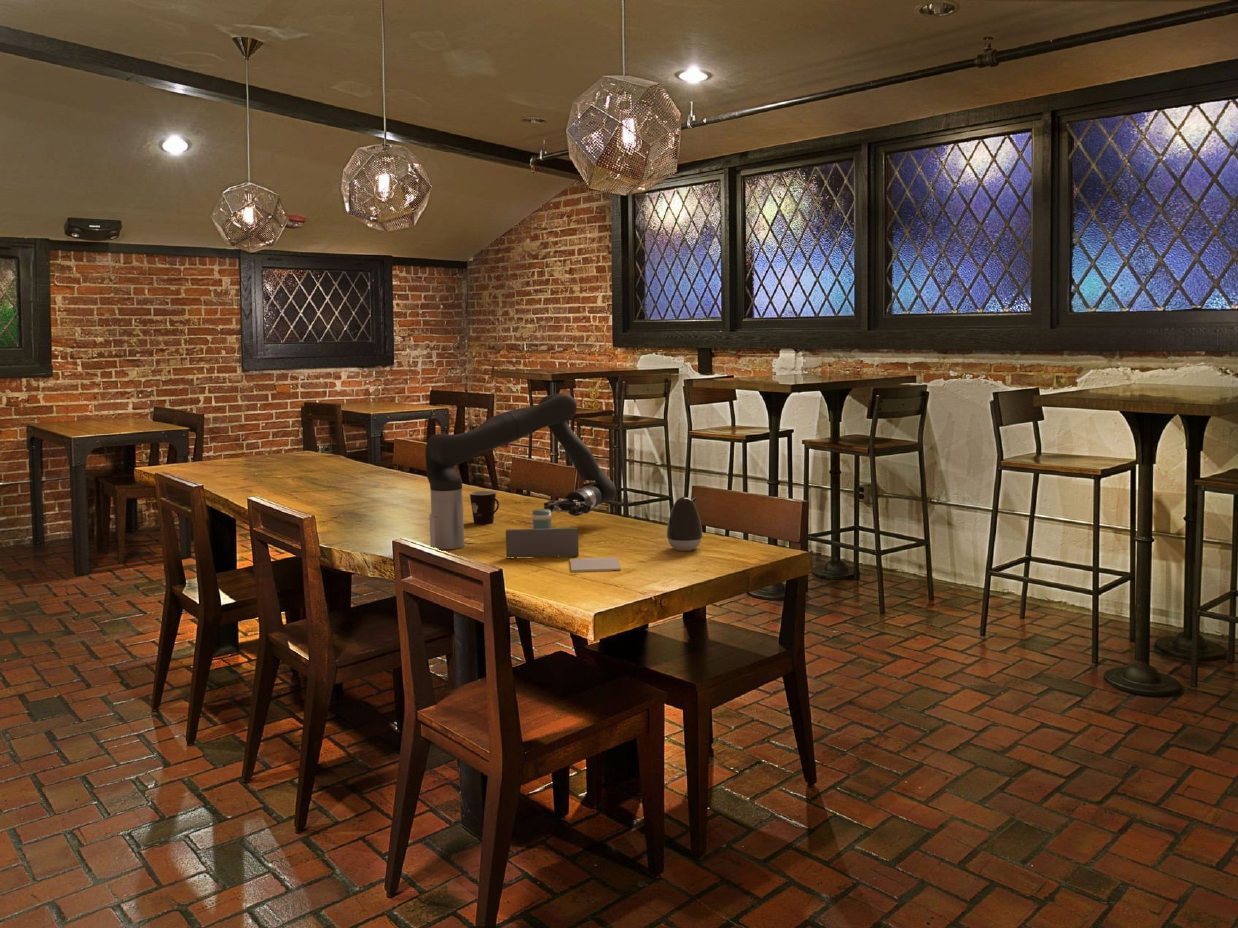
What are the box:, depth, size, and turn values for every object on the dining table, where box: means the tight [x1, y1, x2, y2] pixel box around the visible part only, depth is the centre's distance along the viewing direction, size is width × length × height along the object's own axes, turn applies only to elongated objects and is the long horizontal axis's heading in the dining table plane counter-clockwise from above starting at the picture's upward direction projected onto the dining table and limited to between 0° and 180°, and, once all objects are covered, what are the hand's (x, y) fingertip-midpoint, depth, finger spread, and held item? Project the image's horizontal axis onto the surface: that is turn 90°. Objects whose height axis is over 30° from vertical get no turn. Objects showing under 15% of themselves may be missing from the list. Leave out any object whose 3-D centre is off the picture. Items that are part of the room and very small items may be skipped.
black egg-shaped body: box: [666, 496, 703, 552], centre depth 284 cm, size 10×10×15 cm
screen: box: [505, 527, 580, 558], centre depth 276 cm, size 20×2×8 cm, turn 94°
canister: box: [531, 508, 552, 529], centre depth 283 cm, size 5×5×12 cm
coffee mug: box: [469, 490, 500, 526], centre depth 327 cm, size 12×9×10 cm
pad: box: [569, 557, 622, 573], centre depth 266 cm, size 13×13×1 cm
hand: (558, 511), depth 293 cm, fingers open, 8 cm apart
